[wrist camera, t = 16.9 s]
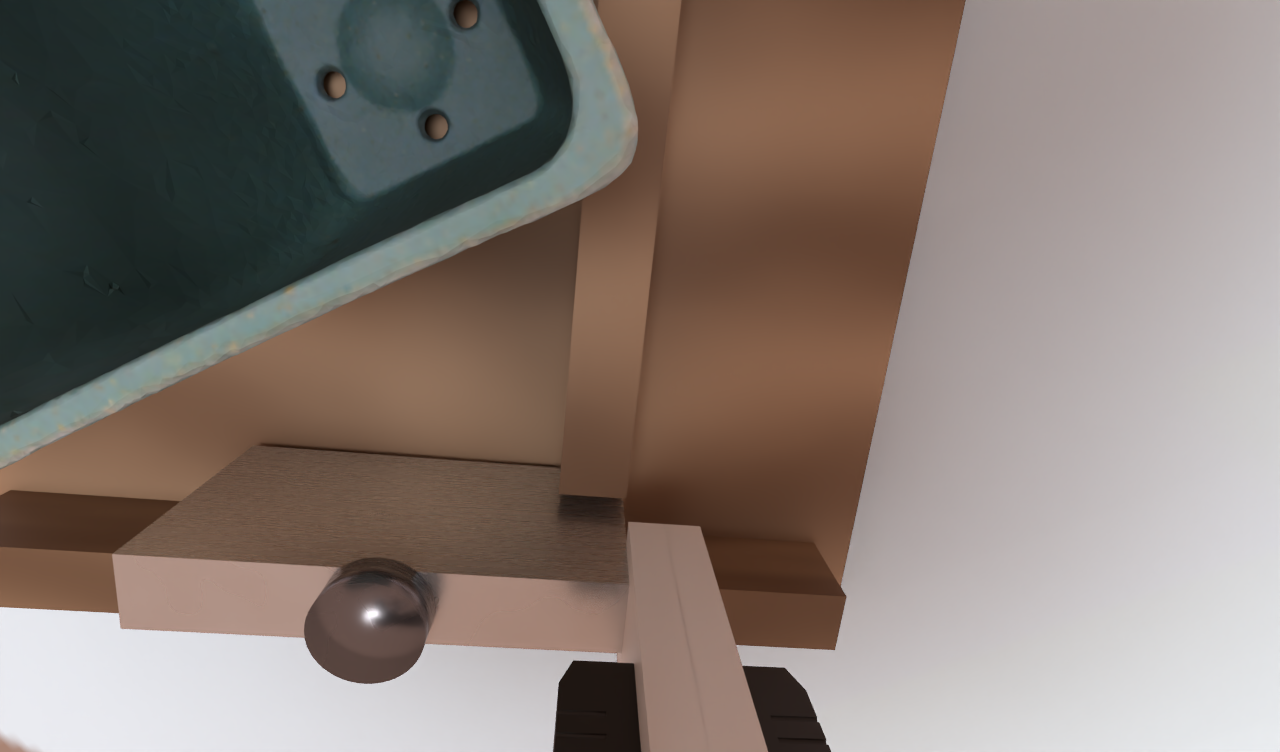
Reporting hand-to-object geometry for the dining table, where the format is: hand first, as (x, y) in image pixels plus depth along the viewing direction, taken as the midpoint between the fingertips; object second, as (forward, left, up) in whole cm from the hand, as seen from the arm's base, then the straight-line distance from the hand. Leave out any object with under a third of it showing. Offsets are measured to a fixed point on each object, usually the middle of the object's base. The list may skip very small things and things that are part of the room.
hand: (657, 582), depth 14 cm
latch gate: (0, -5, -4) cm, 6 cm away
